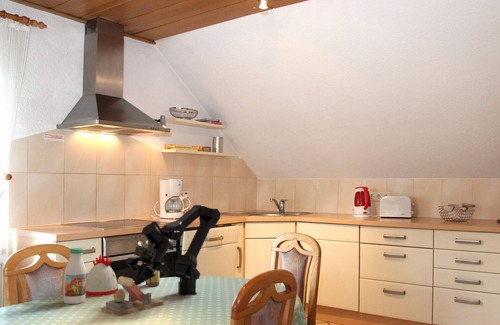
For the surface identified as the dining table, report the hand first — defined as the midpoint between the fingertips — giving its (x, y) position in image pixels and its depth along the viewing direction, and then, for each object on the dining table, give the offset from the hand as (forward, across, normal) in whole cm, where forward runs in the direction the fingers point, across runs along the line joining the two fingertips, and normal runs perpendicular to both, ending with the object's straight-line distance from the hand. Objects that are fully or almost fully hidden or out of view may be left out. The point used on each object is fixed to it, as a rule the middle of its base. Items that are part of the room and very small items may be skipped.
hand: (134, 285), depth 170 cm
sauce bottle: (-15, -22, +26) cm, 37 cm away
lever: (+2, 0, +5) cm, 6 cm away
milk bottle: (+12, -23, -1) cm, 26 cm away
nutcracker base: (+6, 0, +5) cm, 8 cm away
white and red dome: (+1, -28, +11) cm, 31 cm away
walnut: (+8, 0, -2) cm, 8 cm away
